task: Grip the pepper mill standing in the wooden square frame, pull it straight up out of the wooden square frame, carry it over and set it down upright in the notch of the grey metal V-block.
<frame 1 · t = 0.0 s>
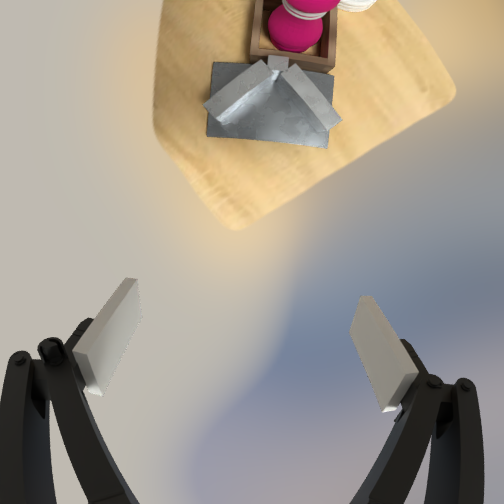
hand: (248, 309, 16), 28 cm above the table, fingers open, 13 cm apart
wooden square frame: (291, 36, 32), on the table
v block: (270, 114, 37), on the table
pepper mill: (290, 36, 32), resting in wooden square frame
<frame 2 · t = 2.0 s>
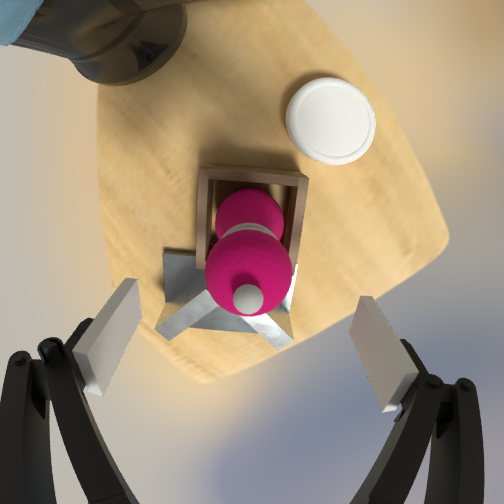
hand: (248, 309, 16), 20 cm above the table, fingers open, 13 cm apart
wooden square frame: (249, 212, 34), on the table
coaster: (326, 121, 30), on the table
v block: (227, 303, 39), on the table
pepper mill: (249, 212, 34), resting in wooden square frame
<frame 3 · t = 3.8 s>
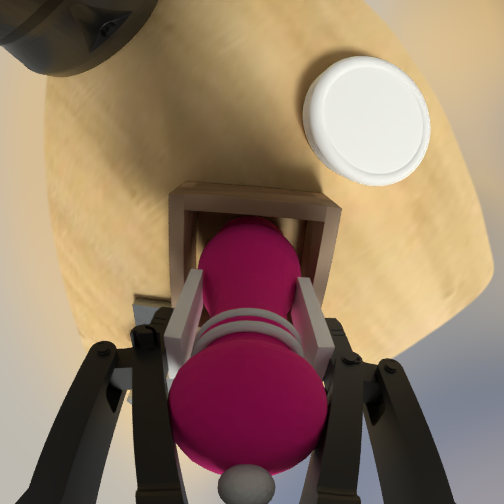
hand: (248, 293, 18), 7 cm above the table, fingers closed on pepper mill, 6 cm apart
wooden square frame: (249, 251, 24), on the table
coaster: (360, 121, 20), on the table
v block: (220, 361, 29), on the table
pepper mill: (249, 250, 24), resting in wooden square frame, touching gripper
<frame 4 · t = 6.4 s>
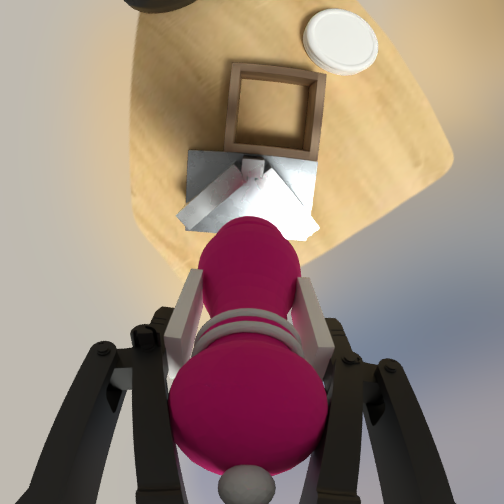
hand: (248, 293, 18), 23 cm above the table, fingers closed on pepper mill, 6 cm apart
wooden square frame: (272, 113, 34), on the table
coaster: (337, 45, 30), on the table
v block: (248, 205, 39), on the table
pepper mill: (249, 250, 24), point 16 cm above the table, touching gripper
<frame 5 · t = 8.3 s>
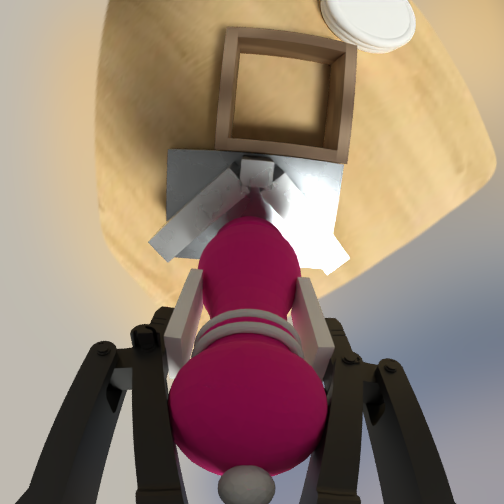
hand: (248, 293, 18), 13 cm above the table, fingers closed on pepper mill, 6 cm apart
wooden square frame: (282, 98, 25), on the table
coaster: (362, 16, 21), on the table
v block: (250, 222, 29), on the table
pepper mill: (249, 250, 24), point 6 cm above the table, touching gripper
when the fingers open (10 cm above the table, at t = 9.3 s): pepper mill drops 2 cm, resting on v block.
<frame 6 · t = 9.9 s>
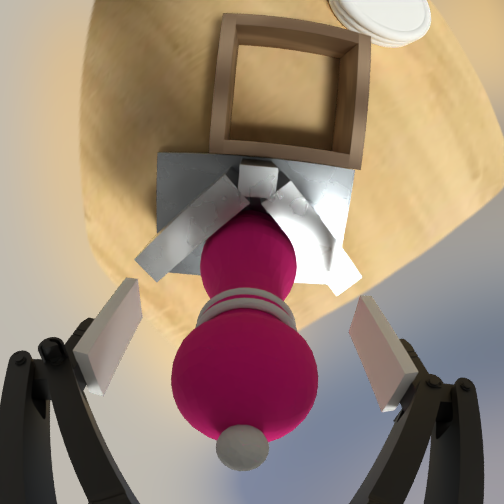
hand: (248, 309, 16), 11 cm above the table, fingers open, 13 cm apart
wooden square frame: (286, 94, 22), on the table
coaster: (373, 8, 18), on the table
v block: (250, 234, 26), on the table
pepper mill: (249, 243, 26), point 1 cm above the table, touching v block
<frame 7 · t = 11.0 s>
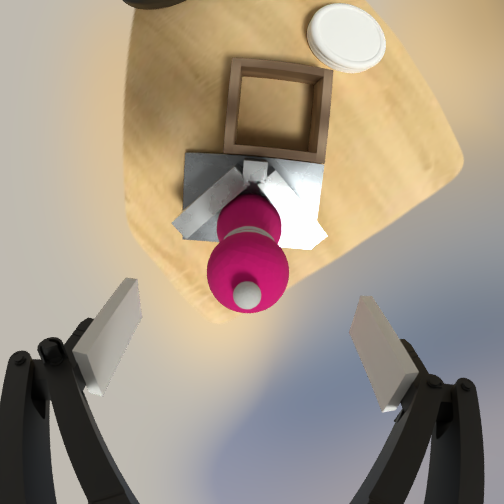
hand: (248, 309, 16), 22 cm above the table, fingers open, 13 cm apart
wooden square frame: (275, 112, 32), on the table
coaster: (342, 41, 28), on the table
v block: (250, 211, 37), on the table
pepper mill: (249, 217, 36), point 1 cm above the table, touching v block
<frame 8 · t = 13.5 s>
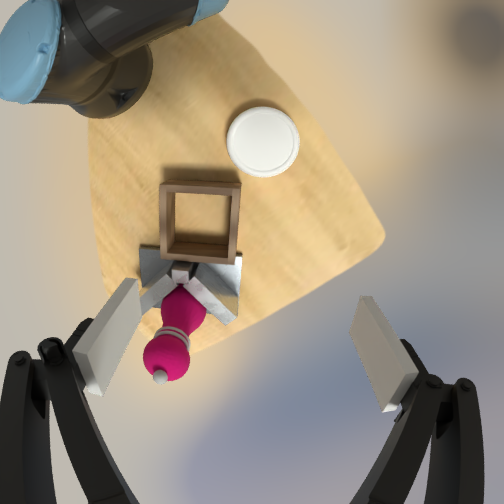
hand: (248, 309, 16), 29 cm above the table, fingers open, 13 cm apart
wooden square frame: (203, 216, 43), on the table
coaster: (262, 141, 40), on the table
v block: (190, 288, 48), on the table
pepper mill: (189, 293, 48), point 1 cm above the table, touching v block
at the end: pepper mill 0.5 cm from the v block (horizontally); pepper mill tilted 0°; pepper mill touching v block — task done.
